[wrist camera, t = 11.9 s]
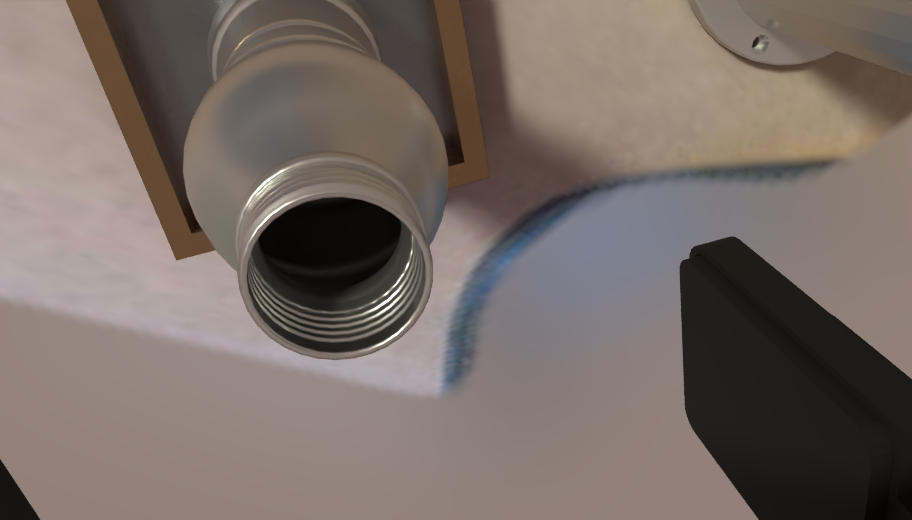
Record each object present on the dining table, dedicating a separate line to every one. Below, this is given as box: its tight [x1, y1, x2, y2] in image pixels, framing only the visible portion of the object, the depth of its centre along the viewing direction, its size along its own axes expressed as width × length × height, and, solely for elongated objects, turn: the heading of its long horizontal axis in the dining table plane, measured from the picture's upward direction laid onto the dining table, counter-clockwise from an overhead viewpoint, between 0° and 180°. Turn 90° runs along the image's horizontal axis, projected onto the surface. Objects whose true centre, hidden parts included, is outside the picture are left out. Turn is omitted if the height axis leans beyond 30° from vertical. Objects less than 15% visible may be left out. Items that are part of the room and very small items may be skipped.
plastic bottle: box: [183, 0, 448, 360], centre depth 23 cm, size 6×7×20 cm
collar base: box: [66, 0, 490, 260], centre depth 30 cm, size 14×14×4 cm
